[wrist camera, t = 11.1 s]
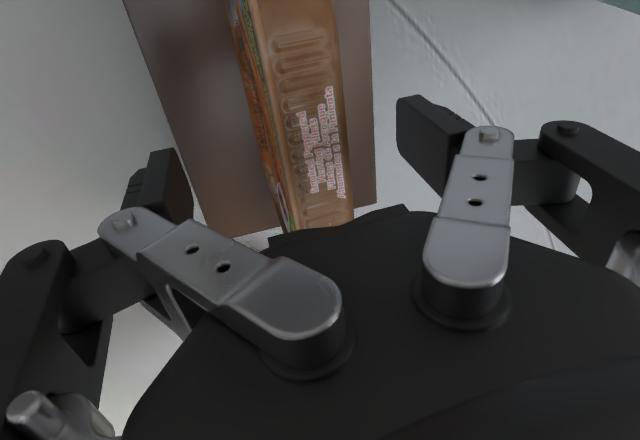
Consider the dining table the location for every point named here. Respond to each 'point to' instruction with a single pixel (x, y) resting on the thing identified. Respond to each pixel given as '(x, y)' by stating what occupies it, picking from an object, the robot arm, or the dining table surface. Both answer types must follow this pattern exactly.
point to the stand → (241, 106)
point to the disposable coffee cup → (625, 5)
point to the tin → (296, 106)
